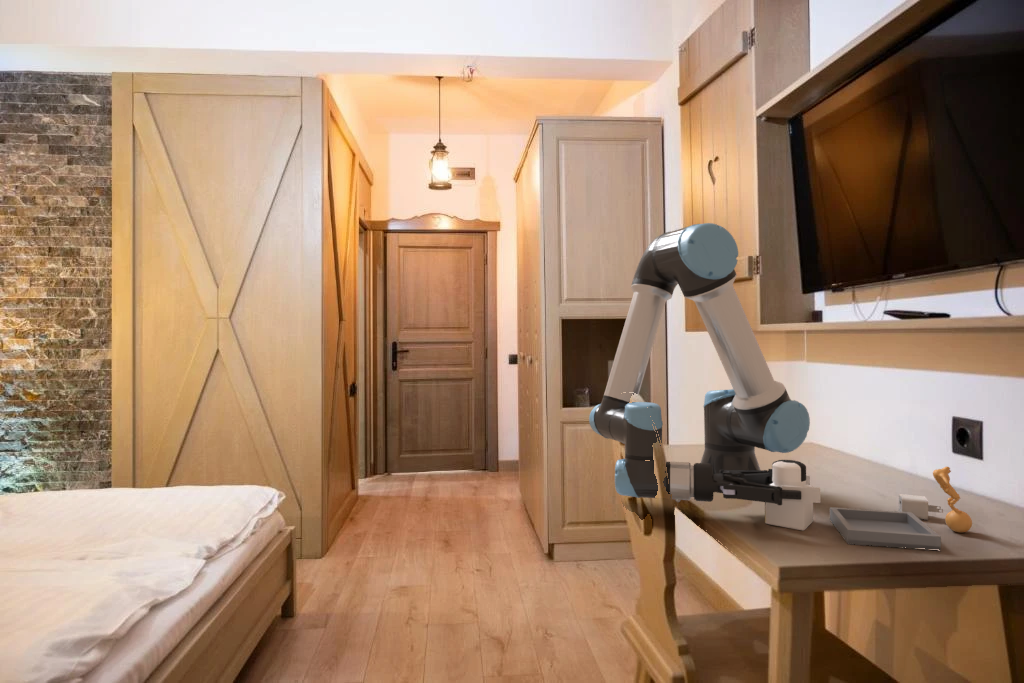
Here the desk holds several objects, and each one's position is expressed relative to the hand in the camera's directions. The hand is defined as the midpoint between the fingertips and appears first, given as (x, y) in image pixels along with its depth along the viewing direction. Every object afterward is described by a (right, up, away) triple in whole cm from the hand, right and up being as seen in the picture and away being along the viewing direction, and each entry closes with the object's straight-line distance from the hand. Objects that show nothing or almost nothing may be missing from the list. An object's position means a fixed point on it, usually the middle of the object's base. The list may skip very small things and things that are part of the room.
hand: (814, 488), depth 116 cm
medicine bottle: (-4, -7, +1) cm, 8 cm away
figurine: (+23, -7, -5) cm, 25 cm away
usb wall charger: (+23, -7, +4) cm, 25 cm away
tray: (+9, -7, -6) cm, 13 cm away
